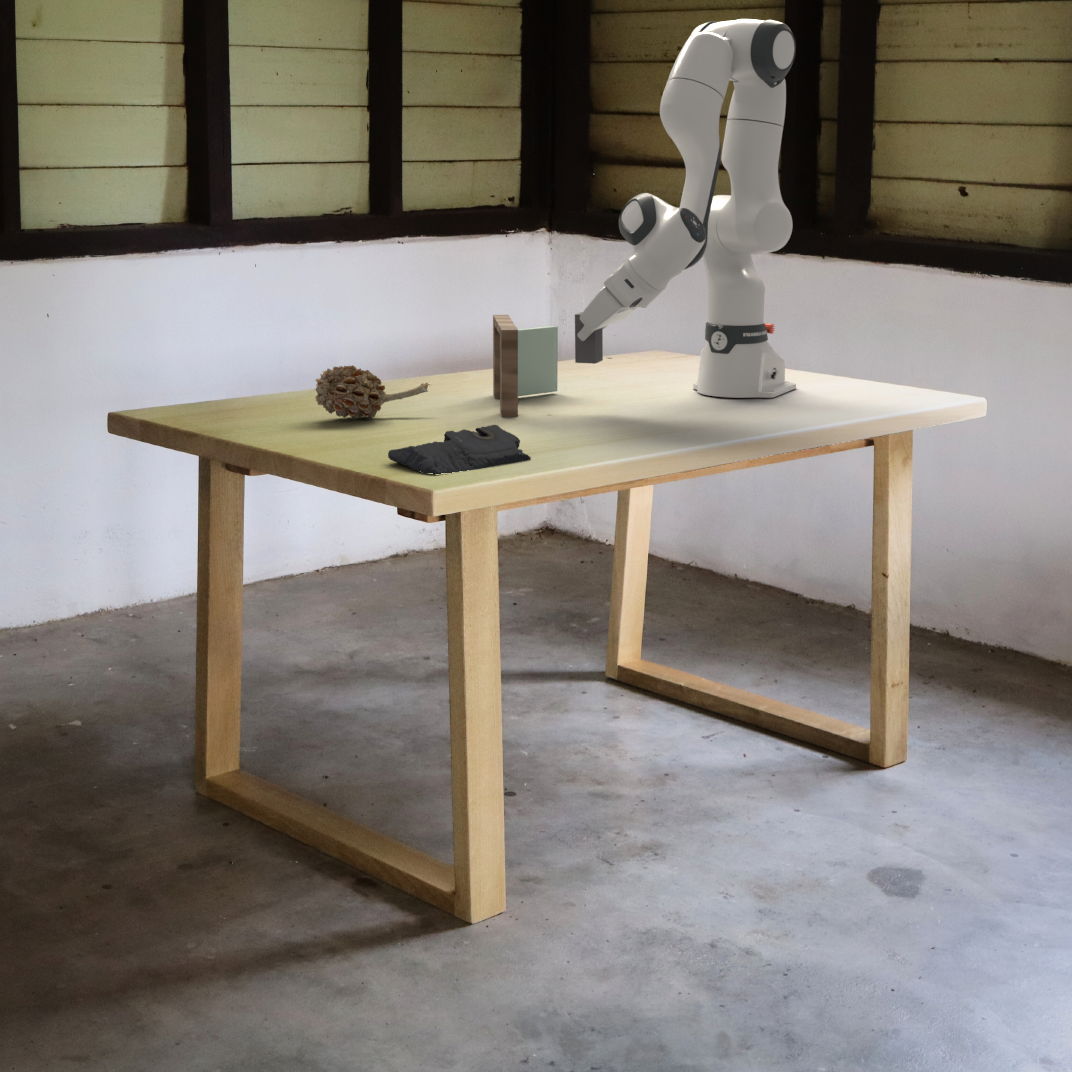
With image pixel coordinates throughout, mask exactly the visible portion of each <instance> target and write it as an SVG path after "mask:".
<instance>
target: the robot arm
mask: <svg viewBox="0 0 1072 1072" xmlns="http://www.w3.org/2000/svg"><path fill="white" fill-rule="evenodd" d="M796 49H797V44H796V38H795V36H794V33H793V32H792V30H791V28H790V27H789V26H788V25H787V24H785V23H783V22H780V21H777V20H773V19H766V20H761V19H754V18H753V19H752V18H739V19H735V20H725V21H713V20H712V21H708V22H705V23H702V24H700V25H698V26H696V27H695V28H694V29H693V31H691V34H690V35H689V37H688V39H686V41H685V43H684V44H683V46H682V48H681V49H680V52H679V54H678V55H677V57H676V59H675V62H674V63H673V66H672V68H671V70H670V73H669V75H668V79H667V80H666V83H665V84H666V85H665V87H664V89H663V93H662V96H661V99H660V105H659V116H660V121H661V123H662V126H663V128H664V129H665V132H666V134H667V135H668V136H669V138H670V139H671V140H672V142H673V143H674V145H675V146H676V147H677V149H678V151H679V153H680V156H681V157H682V159H683V162H684V167H685V178H684V179H685V181H684V185H683V190H682V194H681V199H680V203H679V207H677V206H673V205H672V204H669V203H668V202H666V201H665V200H663V199H661V198H659V197H657V196H656V195H654V194H651V193H649V192H643V193H640V194H637V195H635V196H633V197H632V198H631V199H629V200H628V202H626V203H625V205H624V206H623V208H622V209H621V212H620V214H619V217H618V228H619V231H620V234H621V236H622V237H623V238H624V239H625V241H626V242H627V243H629V244H630V245H631V246H632V247H633V252H632V253H631V254H630V255H628V257H627V258H626V259H625V260H624V261H622V263H621V264H620V265H619V266H618V267H617V268H616V269H615V270H614V271H613V272H612V273H611V275H609V276H608V277H607V278H606V279H605V280H604V282H603V285H604V287H602V289H600V290H599V291H598V292H597V294H596V295H594V298H592V300H591V301H590V302H589V304H587V306H586V307H585V308H584V310H583V311H582V314H581V316H580V320H581V322H582V323H583V324H584V327H583V328H582V329H581V331H580V332H579V333H578V334H577V336H578V337H579V338H580V339H581V340H582V341H584V340H587V339H588V338H589V337H590V336H591V334H592V333H593V332H594V331H595V330H597V329H600V328H602V331H603V330H604V329H606V328H607V327H608V326H610V325H612V324H615V323H617V322H620V321H622V320H625V319H627V318H628V317H629V316H630V315H631V314H632V313H633V312H634V311H635V310H636V309H637V308H641V309H646V308H648V307H649V305H651V304H652V302H653V301H655V299H656V298H658V296H660V294H661V293H663V291H664V290H665V289H666V288H667V286H668V284H669V282H670V281H671V280H672V279H673V278H675V277H676V276H678V275H680V274H681V273H682V272H683V271H685V270H687V269H689V268H692V267H693V266H695V265H696V264H697V263H698V262H699V261H701V259H702V260H703V263H704V269H705V272H706V277H707V278H706V279H707V286H708V287H707V288H708V290H707V291H708V295H707V296H708V300H707V301H708V303H707V305H708V306H707V309H708V310H707V313H708V314H707V322H706V323H705V328H704V341H705V340H706V343H705V346H704V347H703V348H702V349H701V351H700V358H699V365H698V366H699V367H698V375H697V382H694V383H693V384H692V385H693V386H692V388H693V389H694V390H697V391H696V392H697V393H699V394H700V395H705V396H712V397H719V398H738V399H739V398H740V399H742V398H743V399H745V398H746V399H747V398H749V399H750V398H763V399H765V398H766V399H767V398H768V399H769V398H770V399H772V398H776V397H779V396H780V395H783V394H785V393H788V392H790V391H792V390H795V389H797V384H796V383H795V382H791V381H787V380H786V379H785V378H786V375H785V374H786V367H785V360H784V359H783V357H782V356H781V355H780V354H779V353H778V352H777V351H776V350H775V349H774V348H773V347H772V346H771V344H769V342H768V341H769V337H768V334H769V335H772V334H774V332H775V327H776V326H775V325H774V323H764V314H765V294H766V292H765V289H766V288H765V283H764V281H763V279H762V278H761V276H760V275H759V274H758V272H757V271H756V268H755V265H754V262H753V259H752V258H753V257H752V255H764V254H769V253H773V252H777V251H779V250H780V249H782V248H784V247H785V246H786V245H787V243H788V241H789V240H790V238H791V235H792V234H793V233H792V232H793V226H794V225H793V218H792V215H791V212H790V210H789V209H788V207H787V206H786V204H785V203H784V200H783V197H782V193H781V189H780V182H779V180H780V179H779V160H780V153H781V144H782V138H783V131H784V125H785V118H786V107H787V106H786V105H787V83H786V82H787V81H786V79H785V78H786V76H787V74H788V73H789V72H790V70H791V68H792V65H794V64H793V63H794V61H795V57H796V54H797V53H796ZM731 81H732V83H733V92H732V96H731V99H730V103H729V107H728V113H727V117H726V118H727V119H726V124H725V130H724V136H723V144H722V145H721V140H720V133H719V132H720V116H721V112H722V111H721V110H722V107H723V104H724V100H725V97H726V93H727V90H728V87H729V84H730V83H729V82H731ZM720 163H722V165H723V167H724V169H725V170H726V171H727V174H728V176H729V180H730V189H731V191H730V195H729V194H717V195H715V190H716V184H717V179H718V175H719V169H720ZM785 380H786V381H785Z"/></svg>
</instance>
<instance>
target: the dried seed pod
mask: <svg viewBox="0 0 1072 1072" xmlns="http://www.w3.org/2000/svg"><path fill="white" fill-rule="evenodd" d="M332 367H333V368H332V369H331V368H327V369H326V370H324V371H322V373H320V378H315V380H314V381H316V384H315V387H316V388H315V392H316V394H317V395H315V401H316V402H317V405H318V406H322V408H324V409H325V411H326V412H328V414H330V415H332V414H333V413H335V416H337V417H340V418H341V417H343V418H347V417H348V416H349V417H350V418H351V419H352V420H355V419H358V418H359V419H361V418H363V417H364V418H369V419H372V418H375V417H376V415H377V413H378V412H380V411H381V409H382V405H384V403H388V402H392V401H395V400H396V401H397V400H403V399H405V398H410V397H413V396H416V395H417V396H418V395H420V394H423V393H427V392H429V391H428V387H429V386H431V384H429V383H428V382H425V383H423V382H422V383H421V384H420V385H418V386H417V387H414V388H411V389H408V390H404V391H401V392H396V393H394V392H393V393H388V394H386V393H387V392H385V391H384V390H386V385H383V384H382V380H381V379H380V378H379V377H378V376H377V375H375V374H373V373H372V372H371V371H370V370H368V369H367V370H364V369H363V370H362V368H357V367H356V366H355V365H344V366H342V365H340V366H332Z"/></svg>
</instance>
